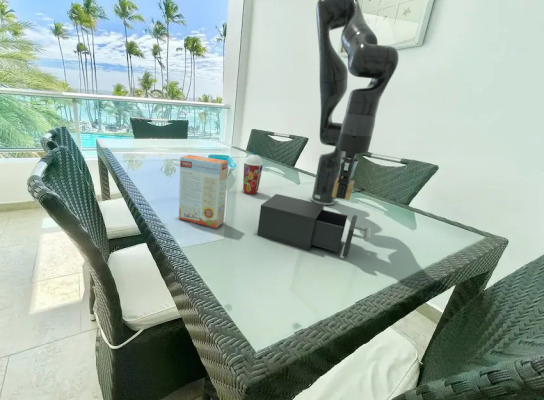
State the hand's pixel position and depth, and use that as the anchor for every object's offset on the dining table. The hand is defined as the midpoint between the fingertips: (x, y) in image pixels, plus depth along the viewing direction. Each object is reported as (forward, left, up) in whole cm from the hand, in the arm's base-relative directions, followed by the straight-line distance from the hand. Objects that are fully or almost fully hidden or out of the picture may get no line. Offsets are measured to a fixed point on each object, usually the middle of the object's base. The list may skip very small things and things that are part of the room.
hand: (341, 195), depth 75 cm
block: (0, 0, 0) cm, 0 cm away
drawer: (0, 0, -15) cm, 15 cm away
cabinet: (0, -12, -16) cm, 20 cm away
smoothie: (-31, -39, -16) cm, 52 cm away
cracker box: (+9, -39, -16) cm, 44 cm away
